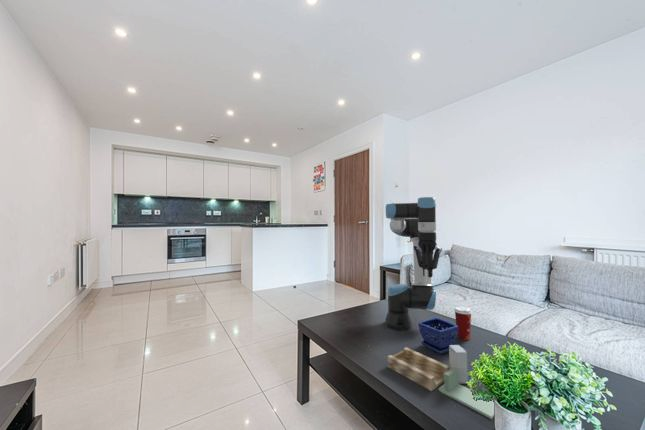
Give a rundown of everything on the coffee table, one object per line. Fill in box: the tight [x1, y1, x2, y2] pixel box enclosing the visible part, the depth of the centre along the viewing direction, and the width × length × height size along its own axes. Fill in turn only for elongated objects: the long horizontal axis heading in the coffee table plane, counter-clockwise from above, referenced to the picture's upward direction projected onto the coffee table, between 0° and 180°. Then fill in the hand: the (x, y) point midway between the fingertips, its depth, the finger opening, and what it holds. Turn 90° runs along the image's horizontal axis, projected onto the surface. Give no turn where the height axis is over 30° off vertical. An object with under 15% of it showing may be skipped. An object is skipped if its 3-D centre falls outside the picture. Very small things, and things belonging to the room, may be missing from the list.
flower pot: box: [417, 317, 458, 355], centre depth 128 cm, size 13×13×12 cm
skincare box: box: [448, 344, 469, 385], centre depth 103 cm, size 6×4×12 cm
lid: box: [437, 367, 495, 420], centre depth 92 cm, size 18×8×7 cm, turn 36°
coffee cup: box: [453, 306, 473, 341], centre depth 139 cm, size 8×8×15 cm
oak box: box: [387, 347, 450, 392], centre depth 108 cm, size 20×13×4 cm, turn 37°
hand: (427, 283), depth 119 cm, fingers closed
